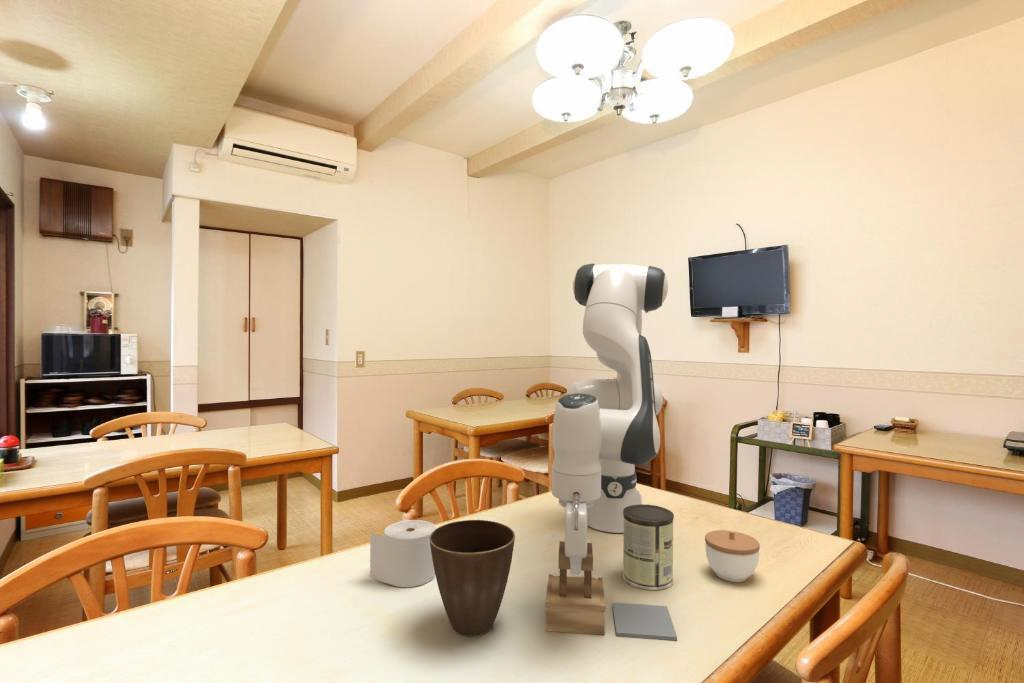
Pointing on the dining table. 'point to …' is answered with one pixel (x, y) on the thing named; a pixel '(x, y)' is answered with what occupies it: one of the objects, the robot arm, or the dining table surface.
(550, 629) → the tan wooden pedestal
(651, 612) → the mat
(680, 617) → the dining table surface
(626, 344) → the robot arm
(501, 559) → the plant pot
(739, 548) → the lidded jar
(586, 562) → the tan pegged block
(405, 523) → the toilet tissue
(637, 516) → the coffee can
